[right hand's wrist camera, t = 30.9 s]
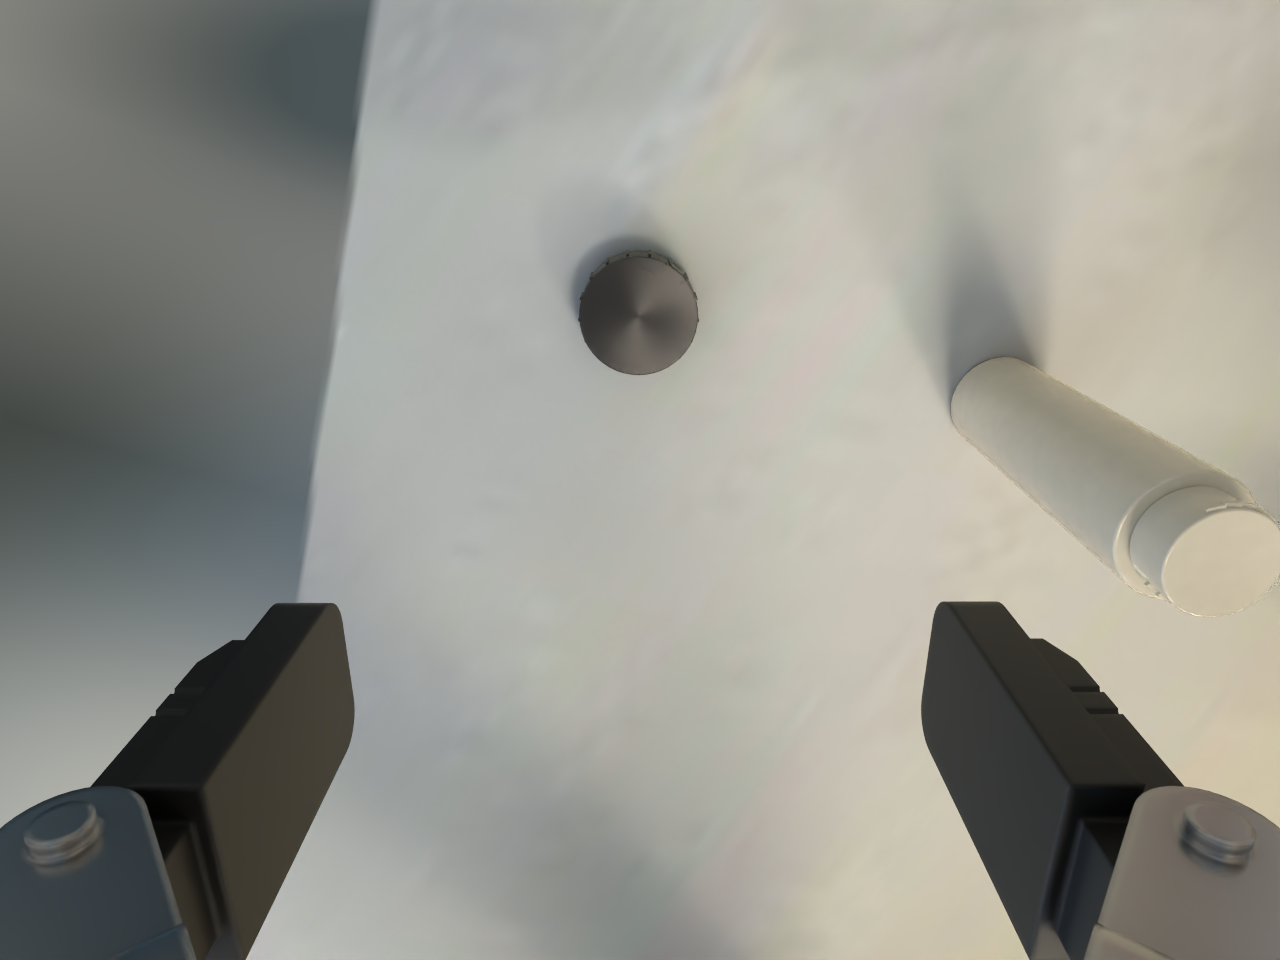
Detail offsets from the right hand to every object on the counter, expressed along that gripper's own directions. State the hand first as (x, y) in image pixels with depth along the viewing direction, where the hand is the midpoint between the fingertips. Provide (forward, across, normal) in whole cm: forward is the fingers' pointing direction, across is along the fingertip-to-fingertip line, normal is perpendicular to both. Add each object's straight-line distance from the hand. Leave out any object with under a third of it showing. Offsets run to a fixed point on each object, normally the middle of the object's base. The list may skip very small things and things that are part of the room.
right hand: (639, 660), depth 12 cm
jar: (+27, +16, -4) cm, 32 cm away
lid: (+25, 0, 0) cm, 25 cm away
